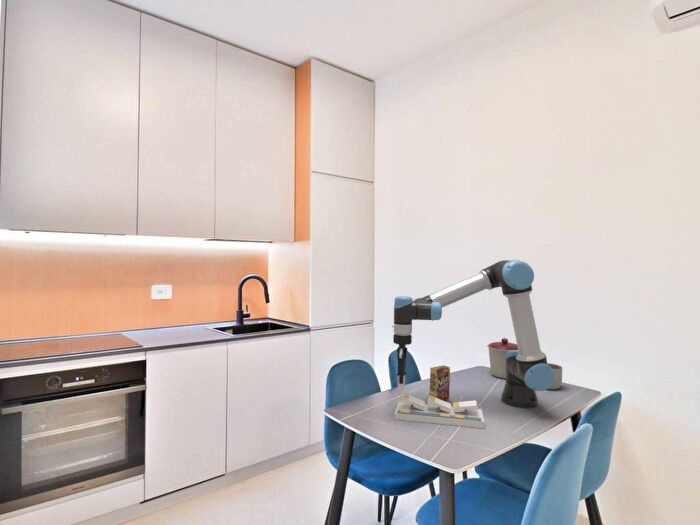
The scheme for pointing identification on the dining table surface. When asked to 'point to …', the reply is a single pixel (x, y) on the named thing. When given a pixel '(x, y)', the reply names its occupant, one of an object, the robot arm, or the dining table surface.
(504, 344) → the canister
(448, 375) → the candy box
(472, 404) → the rocker
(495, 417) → the dining table surface
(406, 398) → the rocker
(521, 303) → the robot arm
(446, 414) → the switch board
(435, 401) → the rocker
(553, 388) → the planter
